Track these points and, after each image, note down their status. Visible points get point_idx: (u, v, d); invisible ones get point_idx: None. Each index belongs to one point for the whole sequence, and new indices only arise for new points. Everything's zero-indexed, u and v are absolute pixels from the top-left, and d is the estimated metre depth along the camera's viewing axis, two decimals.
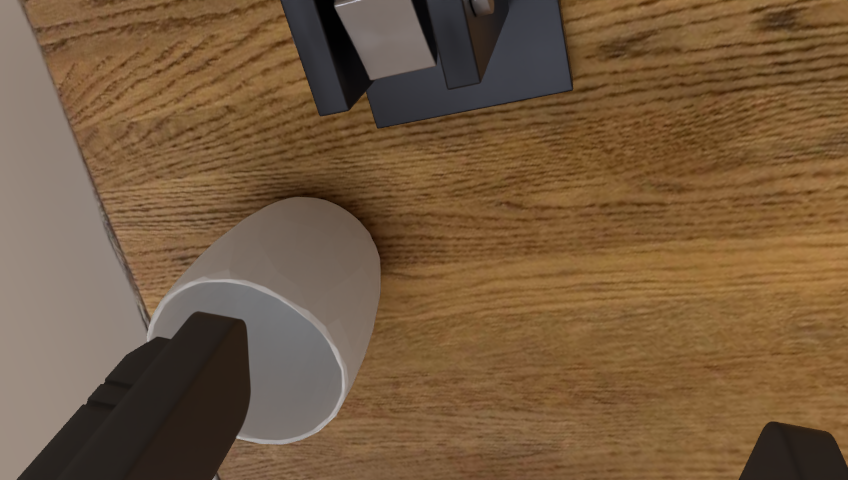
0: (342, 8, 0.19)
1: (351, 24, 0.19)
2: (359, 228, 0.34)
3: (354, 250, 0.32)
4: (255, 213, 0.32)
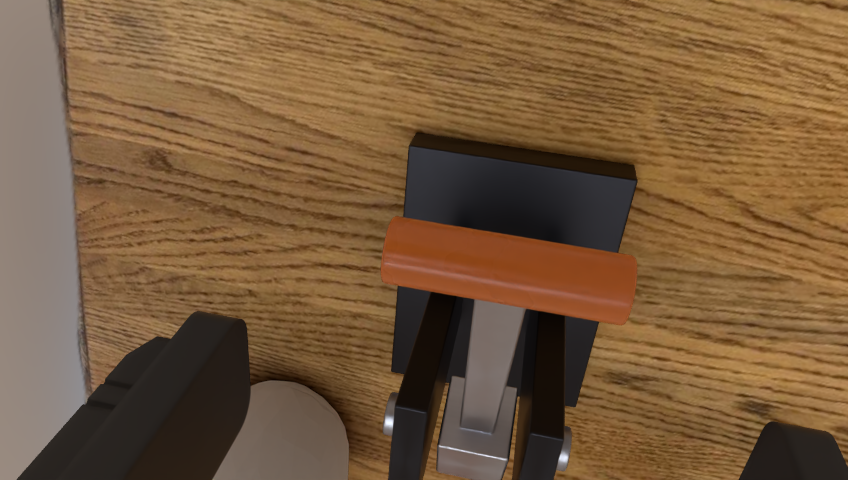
0: (444, 449, 0.21)
1: (445, 455, 0.21)
2: (341, 434, 0.36)
3: (336, 471, 0.34)
4: (251, 410, 0.33)
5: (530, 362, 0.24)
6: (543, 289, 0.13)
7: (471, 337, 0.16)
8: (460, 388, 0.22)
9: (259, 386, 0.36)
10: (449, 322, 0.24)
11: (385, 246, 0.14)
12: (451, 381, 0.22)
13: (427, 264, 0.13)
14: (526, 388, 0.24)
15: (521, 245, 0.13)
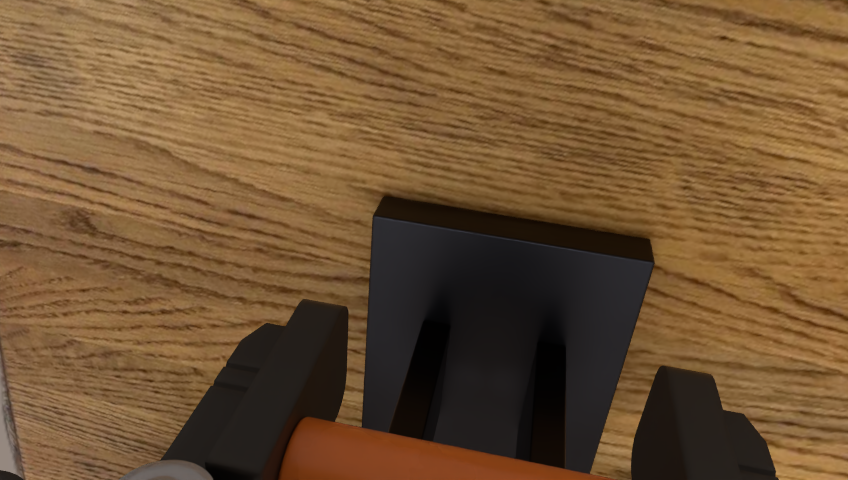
0: None
1: None
2: None
3: None
4: None
5: None
6: None
7: None
8: None
9: None
10: None
11: None
12: None
13: None
14: None
15: None
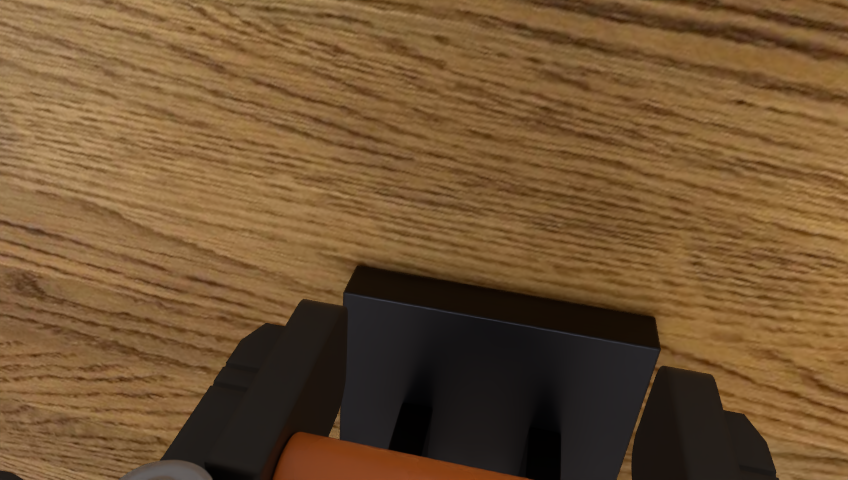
0: None
1: None
2: None
3: None
4: None
5: None
6: None
7: None
8: None
9: None
10: None
11: None
12: None
13: None
14: None
15: None
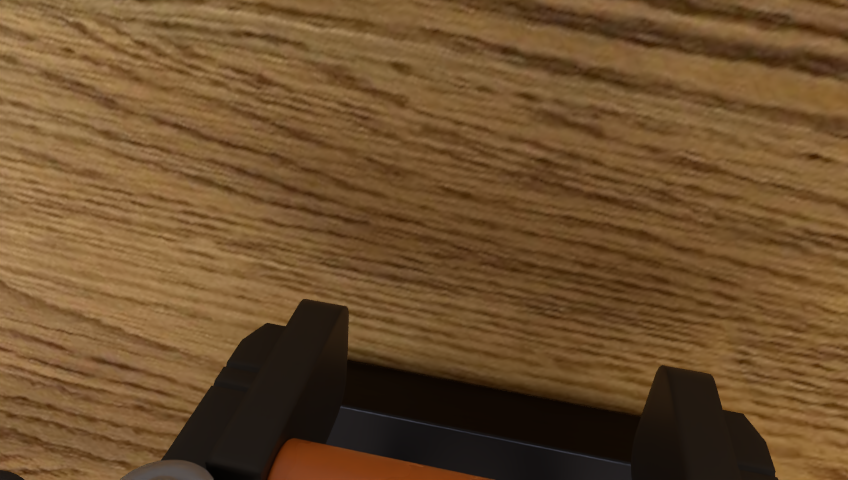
0: None
1: None
2: None
3: None
4: None
5: None
6: None
7: None
8: None
9: None
10: None
11: (275, 463, 0.08)
12: None
13: None
14: None
15: None
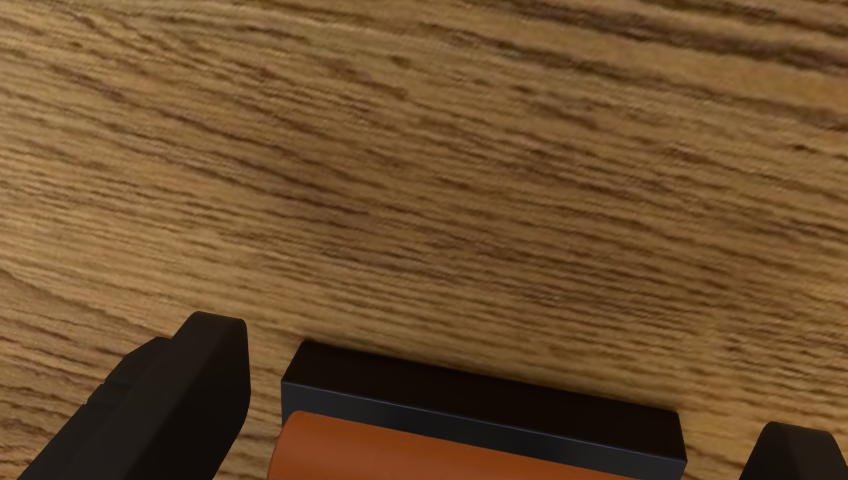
0: None
1: None
2: None
3: None
4: None
5: None
6: None
7: None
8: None
9: None
10: None
11: (282, 431, 0.09)
12: None
13: (345, 461, 0.08)
14: None
15: (491, 450, 0.09)
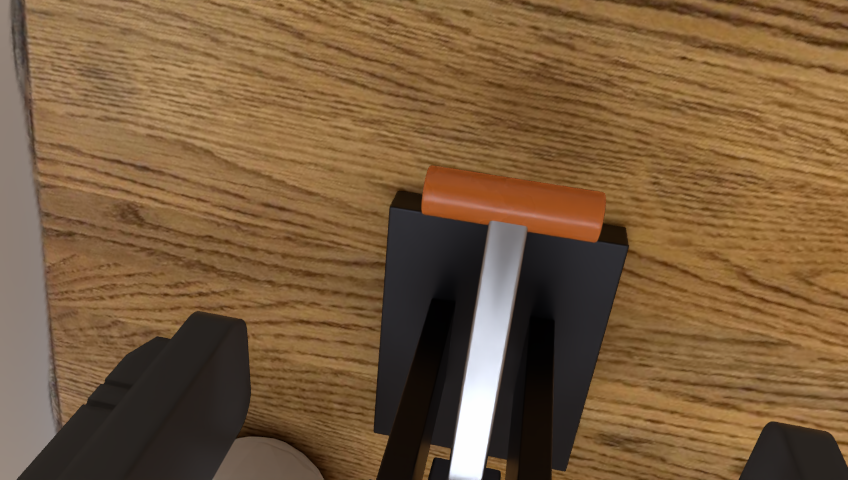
0: None
1: None
2: None
3: None
4: (227, 473, 0.32)
5: (516, 443, 0.23)
6: (542, 194, 0.19)
7: (479, 285, 0.19)
8: (444, 464, 0.21)
9: (237, 443, 0.34)
10: (430, 402, 0.22)
11: (429, 168, 0.19)
12: (434, 460, 0.22)
13: (459, 178, 0.19)
14: (511, 471, 0.22)
15: (523, 180, 0.19)
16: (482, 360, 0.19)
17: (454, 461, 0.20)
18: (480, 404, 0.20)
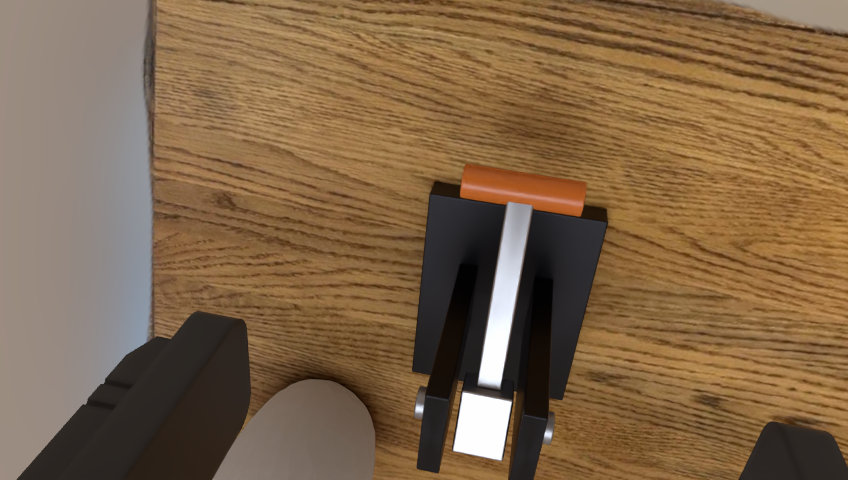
0: (466, 395, 0.28)
1: (465, 407, 0.28)
2: (369, 423, 0.43)
3: (366, 453, 0.41)
4: (297, 403, 0.41)
5: (524, 363, 0.31)
6: (543, 183, 0.27)
7: (500, 246, 0.28)
8: (473, 375, 0.30)
9: (301, 384, 0.43)
10: (463, 333, 0.31)
11: (465, 166, 0.28)
12: (466, 373, 0.30)
13: (486, 172, 0.28)
14: (521, 383, 0.31)
15: (530, 174, 0.28)
16: (501, 298, 0.28)
17: (482, 369, 0.29)
18: (500, 329, 0.28)
